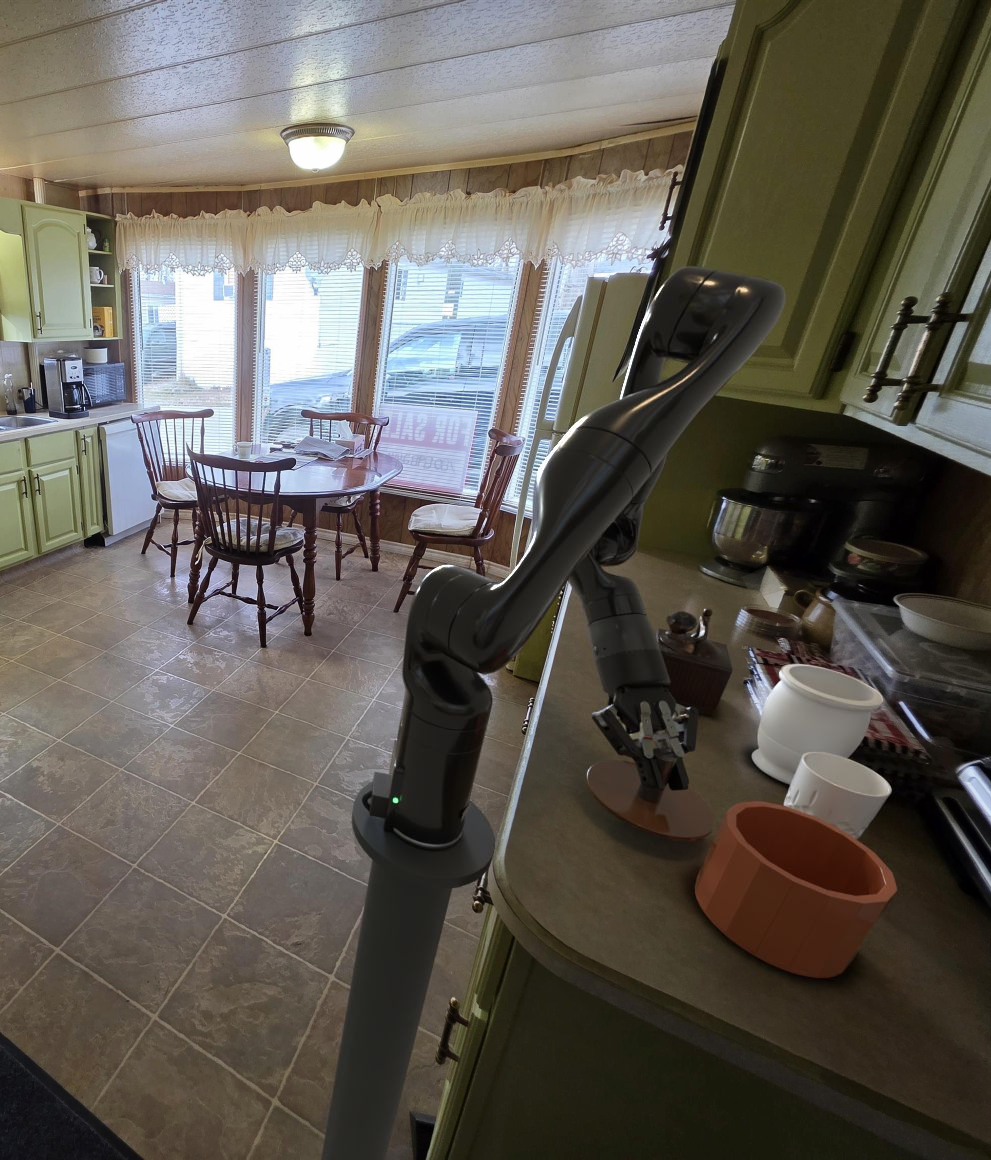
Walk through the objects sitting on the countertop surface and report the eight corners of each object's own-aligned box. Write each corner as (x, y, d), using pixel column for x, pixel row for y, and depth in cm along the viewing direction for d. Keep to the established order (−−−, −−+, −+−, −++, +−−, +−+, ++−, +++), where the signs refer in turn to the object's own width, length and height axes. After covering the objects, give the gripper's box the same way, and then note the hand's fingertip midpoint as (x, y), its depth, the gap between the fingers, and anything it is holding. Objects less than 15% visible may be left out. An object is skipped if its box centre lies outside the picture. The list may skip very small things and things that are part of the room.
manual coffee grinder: (636, 670, 114) (666, 582, 107) (709, 689, 108) (746, 597, 101) (634, 710, 102) (669, 613, 95) (717, 734, 96) (759, 633, 89)
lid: (601, 829, 74) (620, 779, 71) (572, 758, 86) (587, 712, 83) (733, 857, 71) (758, 805, 68) (684, 779, 83) (703, 732, 80)
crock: (726, 957, 62) (765, 882, 58) (676, 859, 73) (705, 790, 69) (880, 994, 59) (933, 918, 55) (803, 886, 70) (842, 816, 66)
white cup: (857, 837, 77) (893, 775, 73) (851, 871, 72) (890, 806, 68) (776, 803, 82) (806, 743, 78) (766, 832, 77) (797, 770, 74)
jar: (840, 807, 82) (892, 714, 76) (743, 774, 88) (784, 685, 82) (829, 766, 90) (875, 679, 84) (741, 738, 96) (778, 655, 90)
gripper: (596, 647, 77) (638, 791, 71) (696, 645, 79) (746, 786, 72) (560, 662, 84) (595, 794, 78) (653, 660, 86) (694, 789, 79)
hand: (667, 789), depth 75 cm, fingers closed on lid, 2 cm apart
